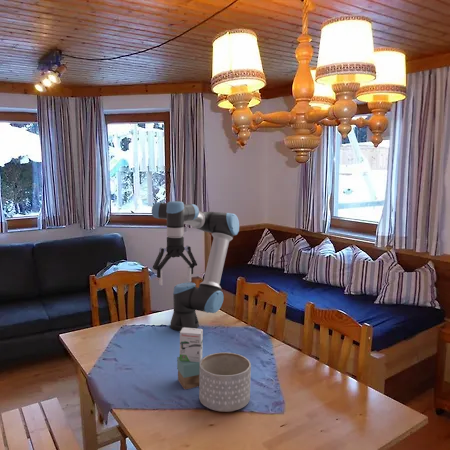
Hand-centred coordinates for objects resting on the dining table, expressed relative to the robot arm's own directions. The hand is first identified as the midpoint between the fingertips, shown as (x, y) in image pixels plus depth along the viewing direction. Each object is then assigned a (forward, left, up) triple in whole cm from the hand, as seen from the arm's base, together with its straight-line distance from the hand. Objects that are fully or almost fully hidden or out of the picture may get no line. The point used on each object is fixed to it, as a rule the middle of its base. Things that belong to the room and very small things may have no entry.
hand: (175, 283), depth 190 cm
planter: (-3, +46, -33) cm, 57 cm away
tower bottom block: (+4, +29, -33) cm, 44 cm away
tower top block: (+4, +29, -28) cm, 40 cm away
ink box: (+4, +29, -23) cm, 37 cm away
